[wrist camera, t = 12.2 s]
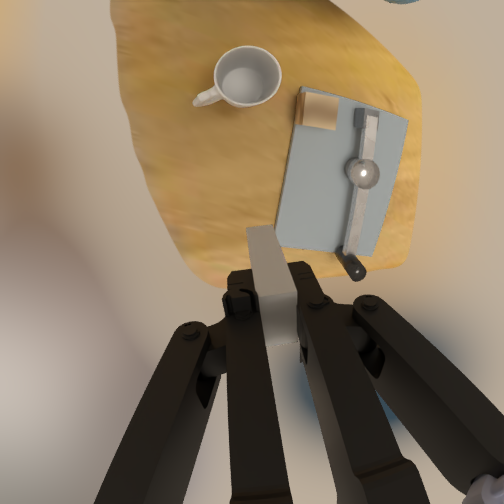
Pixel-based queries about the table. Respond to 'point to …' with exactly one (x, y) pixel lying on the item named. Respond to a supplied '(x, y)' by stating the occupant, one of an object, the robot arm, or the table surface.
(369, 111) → the lever
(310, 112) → the block
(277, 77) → the mug
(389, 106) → the table surface
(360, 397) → the robot arm
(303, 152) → the base
